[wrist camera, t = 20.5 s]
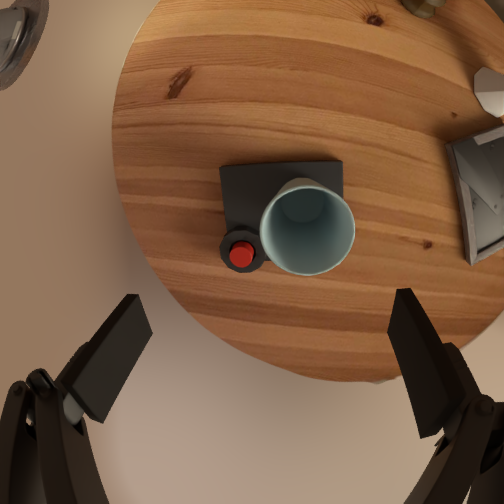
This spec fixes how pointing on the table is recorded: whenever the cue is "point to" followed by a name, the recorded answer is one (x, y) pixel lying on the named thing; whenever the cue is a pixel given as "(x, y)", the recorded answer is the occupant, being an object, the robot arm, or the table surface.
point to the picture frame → (480, 190)
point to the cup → (307, 228)
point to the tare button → (241, 254)
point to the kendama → (422, 7)
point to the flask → (490, 90)
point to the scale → (264, 198)
